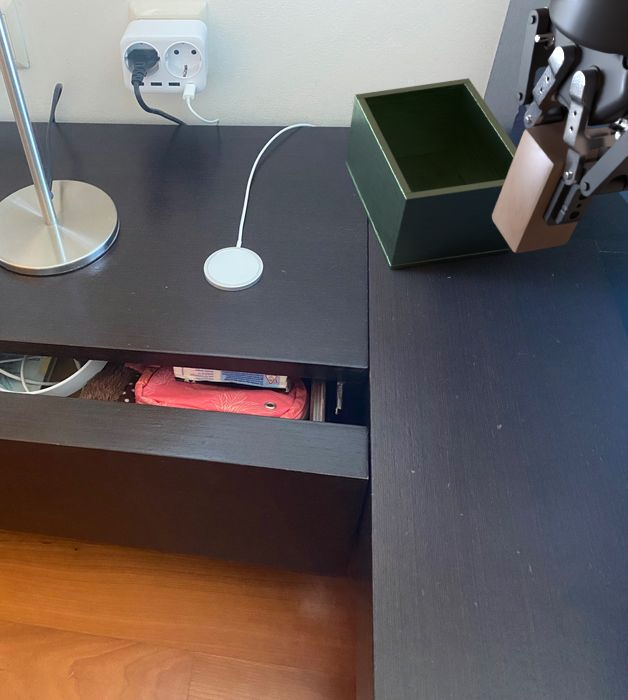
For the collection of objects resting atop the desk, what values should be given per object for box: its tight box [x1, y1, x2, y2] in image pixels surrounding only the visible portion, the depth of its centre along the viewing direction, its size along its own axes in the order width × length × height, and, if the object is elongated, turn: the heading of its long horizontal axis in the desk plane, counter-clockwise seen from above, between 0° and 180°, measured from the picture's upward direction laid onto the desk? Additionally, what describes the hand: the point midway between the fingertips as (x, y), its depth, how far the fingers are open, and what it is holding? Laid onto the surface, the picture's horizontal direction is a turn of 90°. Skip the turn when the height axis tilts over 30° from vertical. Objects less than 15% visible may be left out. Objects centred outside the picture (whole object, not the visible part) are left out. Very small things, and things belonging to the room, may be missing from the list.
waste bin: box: [344, 78, 518, 271], centre depth 77 cm, size 18×13×10 cm
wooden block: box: [492, 121, 599, 254], centre depth 48 cm, size 4×4×8 cm
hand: (543, 196), depth 49 cm, fingers closed on wooden block, 4 cm apart
